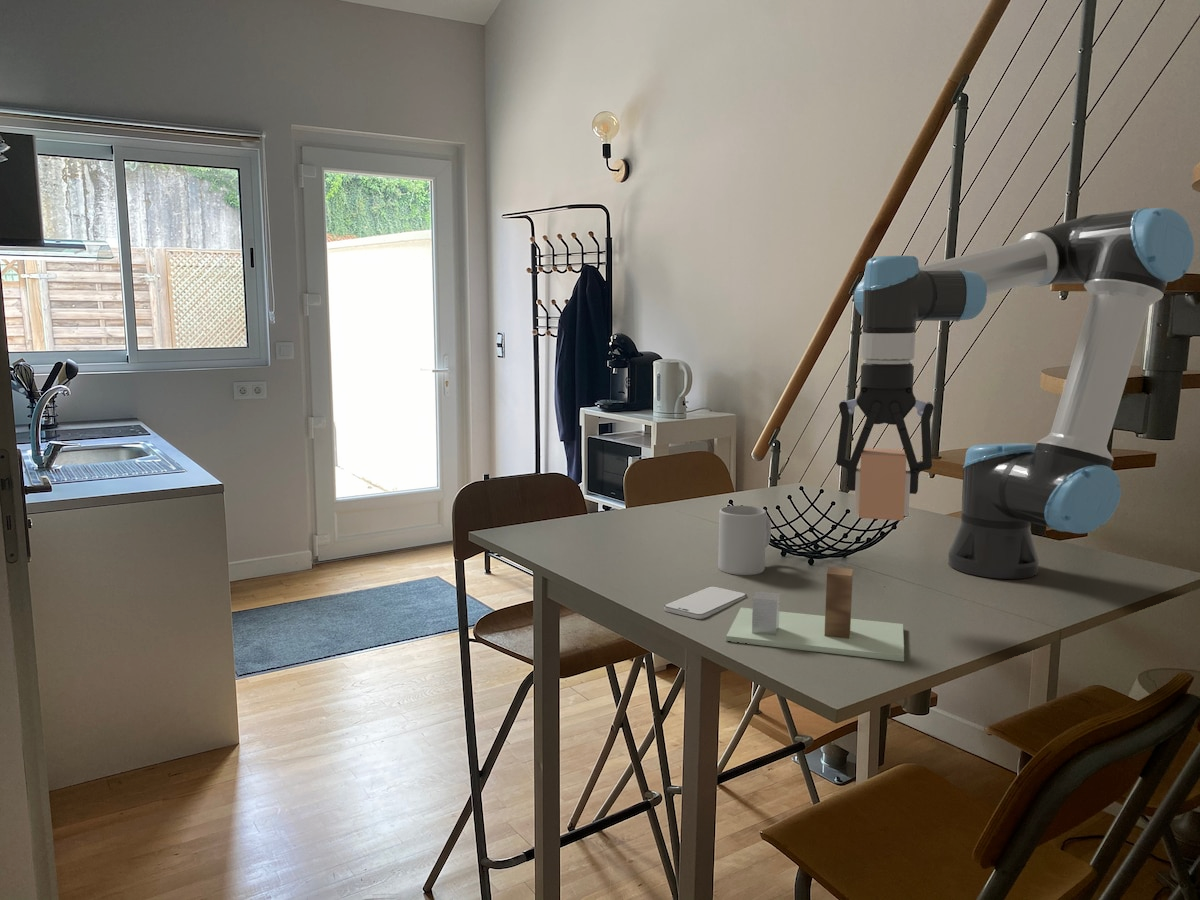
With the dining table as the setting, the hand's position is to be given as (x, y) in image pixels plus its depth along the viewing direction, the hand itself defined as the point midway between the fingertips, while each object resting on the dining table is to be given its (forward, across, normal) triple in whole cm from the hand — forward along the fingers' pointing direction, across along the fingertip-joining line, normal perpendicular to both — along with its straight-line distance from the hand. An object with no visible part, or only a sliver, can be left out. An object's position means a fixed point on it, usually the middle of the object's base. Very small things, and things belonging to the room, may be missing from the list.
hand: (881, 512), depth 135 cm
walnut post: (+16, +5, +13) cm, 21 cm away
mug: (+16, +23, -19) cm, 34 cm away
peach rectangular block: (0, 0, 0) cm, 0 cm away
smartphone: (+17, +26, +3) cm, 31 cm away
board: (+16, +8, +13) cm, 22 cm away
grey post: (+16, +15, +15) cm, 27 cm away
